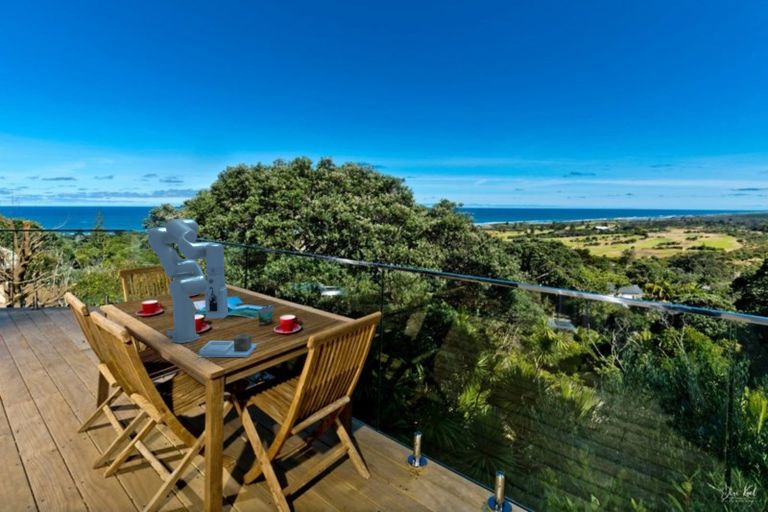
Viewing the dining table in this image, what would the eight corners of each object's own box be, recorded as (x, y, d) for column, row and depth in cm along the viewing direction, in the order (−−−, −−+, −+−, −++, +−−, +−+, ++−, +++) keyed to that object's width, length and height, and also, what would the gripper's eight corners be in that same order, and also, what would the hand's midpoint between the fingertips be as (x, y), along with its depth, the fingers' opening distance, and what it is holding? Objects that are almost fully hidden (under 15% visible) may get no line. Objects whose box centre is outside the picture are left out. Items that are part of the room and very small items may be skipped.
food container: (267, 327, 217) (267, 309, 216) (257, 326, 218) (257, 308, 217) (278, 320, 229) (277, 304, 228) (268, 319, 230) (268, 303, 229)
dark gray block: (234, 351, 177) (233, 338, 176) (238, 346, 183) (238, 334, 182) (247, 351, 177) (246, 338, 176) (251, 346, 183) (251, 334, 182)
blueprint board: (198, 357, 173) (198, 350, 172) (211, 346, 187) (211, 340, 186) (247, 357, 173) (247, 351, 173) (257, 346, 187) (257, 340, 187)
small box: (228, 314, 181) (227, 287, 179) (224, 318, 175) (223, 290, 173) (210, 314, 180) (209, 287, 179) (205, 318, 174) (204, 290, 172)
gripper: (215, 274, 166) (217, 314, 169) (230, 267, 183) (232, 304, 186) (198, 273, 166) (200, 314, 168) (214, 267, 183) (216, 304, 186)
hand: (216, 308), depth 177 cm, fingers closed on small box, 6 cm apart
